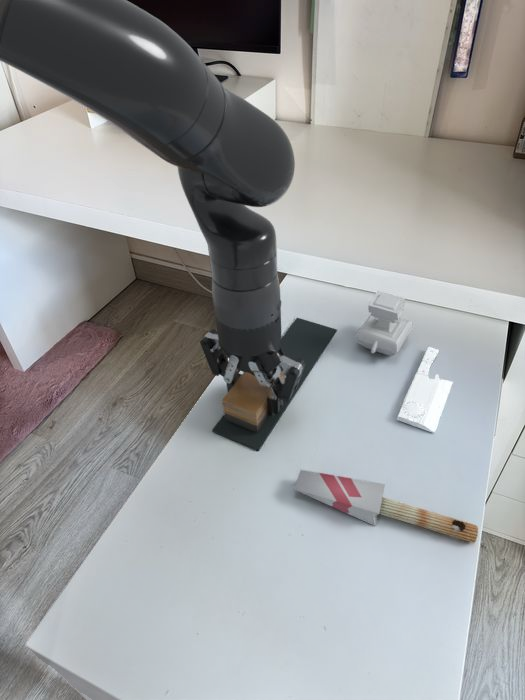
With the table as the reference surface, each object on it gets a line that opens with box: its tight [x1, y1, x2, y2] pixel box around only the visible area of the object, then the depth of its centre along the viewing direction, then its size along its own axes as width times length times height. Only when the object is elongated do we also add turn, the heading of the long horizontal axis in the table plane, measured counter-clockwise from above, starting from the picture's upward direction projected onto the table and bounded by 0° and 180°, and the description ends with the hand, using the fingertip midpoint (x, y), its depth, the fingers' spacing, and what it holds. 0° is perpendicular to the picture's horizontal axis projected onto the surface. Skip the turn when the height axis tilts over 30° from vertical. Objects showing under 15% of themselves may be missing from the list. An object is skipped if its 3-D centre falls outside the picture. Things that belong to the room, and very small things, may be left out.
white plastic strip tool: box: [396, 346, 454, 434], centre depth 70 cm, size 5×15×1 cm, turn 151°
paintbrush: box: [293, 469, 479, 544], centre depth 56 cm, size 4×3×20 cm
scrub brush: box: [221, 371, 285, 433], centre depth 67 cm, size 8×5×4 cm, turn 152°
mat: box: [211, 317, 338, 452], centre depth 73 cm, size 26×7×1 cm, turn 151°
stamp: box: [354, 290, 413, 357], centre depth 75 cm, size 9×7×8 cm
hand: (255, 404), depth 68 cm, fingers closed on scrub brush, 5 cm apart
